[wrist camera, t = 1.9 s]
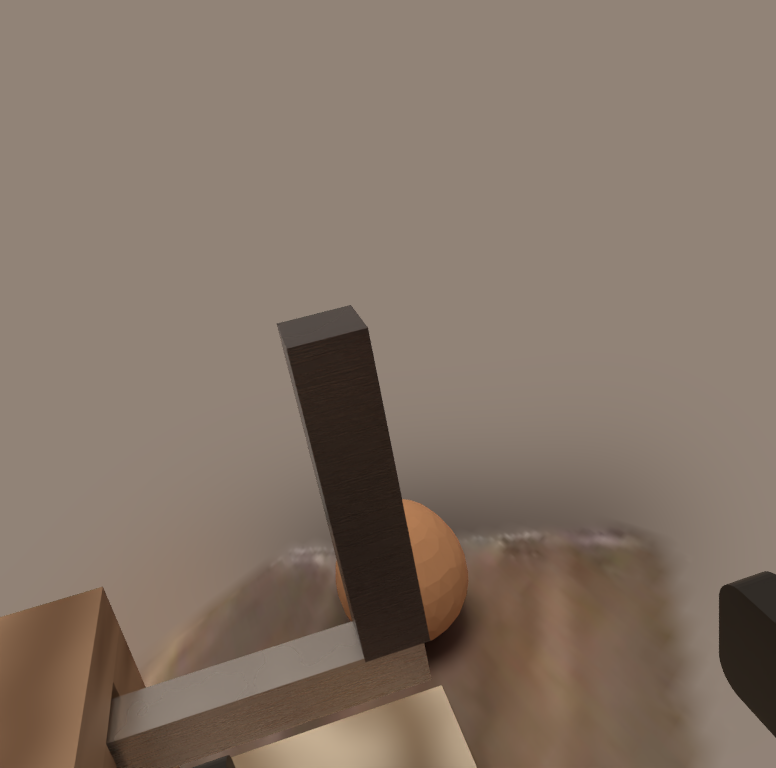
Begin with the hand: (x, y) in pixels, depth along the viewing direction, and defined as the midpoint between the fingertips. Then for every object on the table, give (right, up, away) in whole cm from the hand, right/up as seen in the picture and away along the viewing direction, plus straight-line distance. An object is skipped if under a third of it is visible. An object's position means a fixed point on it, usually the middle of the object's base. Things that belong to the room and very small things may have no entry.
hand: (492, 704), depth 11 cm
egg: (0, -9, +32) cm, 33 cm away
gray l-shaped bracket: (-9, -8, +15) cm, 19 cm away
